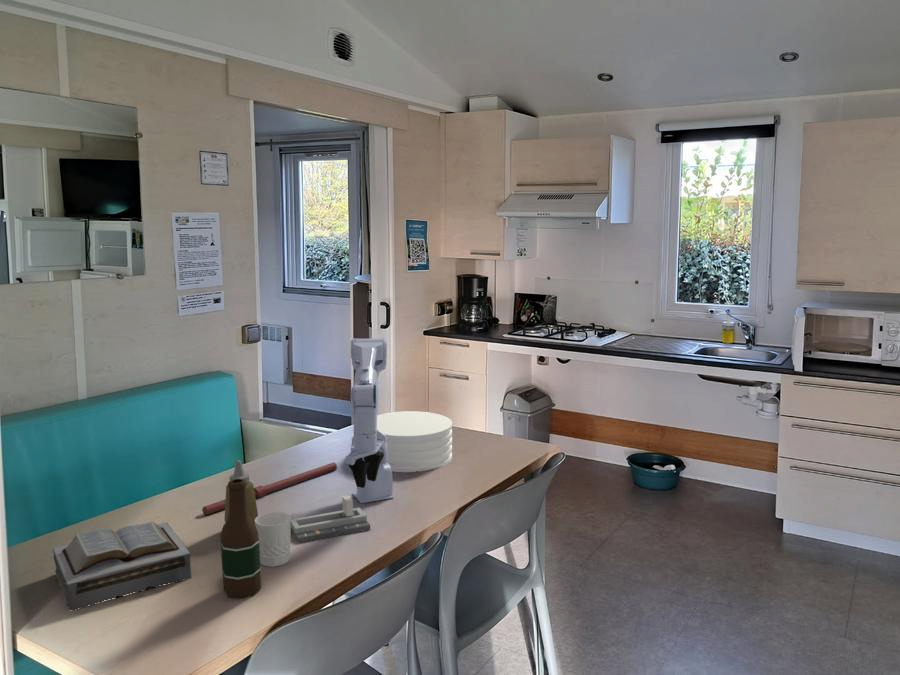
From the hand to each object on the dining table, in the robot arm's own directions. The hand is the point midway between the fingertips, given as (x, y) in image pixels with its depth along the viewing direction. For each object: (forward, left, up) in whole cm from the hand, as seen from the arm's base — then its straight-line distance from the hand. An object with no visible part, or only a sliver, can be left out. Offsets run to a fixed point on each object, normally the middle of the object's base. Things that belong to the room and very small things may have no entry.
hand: (366, 483), depth 190 cm
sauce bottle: (+35, +23, -10) cm, 43 cm away
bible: (+57, +6, -10) cm, 59 cm away
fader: (+5, 0, -9) cm, 10 cm away
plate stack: (-28, -42, -10) cm, 52 cm away
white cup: (+26, +12, -10) cm, 30 cm away
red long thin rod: (+17, -31, -10) cm, 37 cm away
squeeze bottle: (+30, -7, -10) cm, 32 cm away
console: (+10, 0, -10) cm, 14 cm away
